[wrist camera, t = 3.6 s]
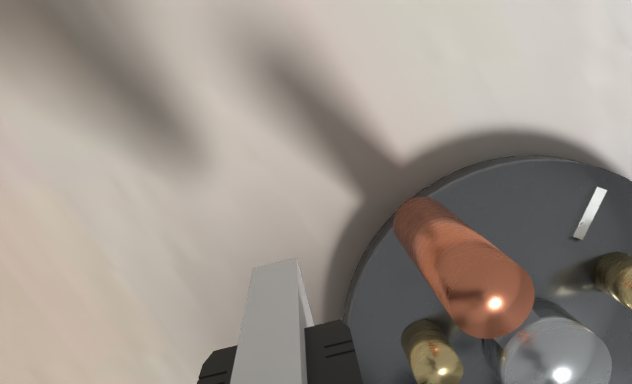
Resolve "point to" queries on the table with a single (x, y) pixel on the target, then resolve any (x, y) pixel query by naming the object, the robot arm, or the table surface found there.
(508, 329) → the crank
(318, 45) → the table surface
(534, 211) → the crank base
